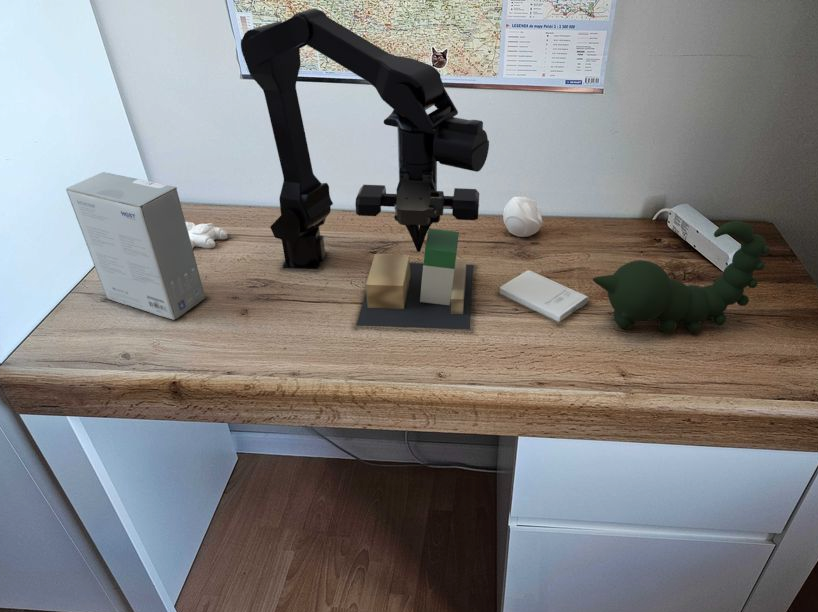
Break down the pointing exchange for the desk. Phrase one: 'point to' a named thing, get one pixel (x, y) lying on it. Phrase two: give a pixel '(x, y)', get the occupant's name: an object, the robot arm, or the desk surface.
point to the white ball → (522, 217)
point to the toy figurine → (684, 287)
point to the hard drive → (543, 295)
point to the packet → (439, 266)
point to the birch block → (388, 281)
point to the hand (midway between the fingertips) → (419, 250)
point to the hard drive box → (138, 243)
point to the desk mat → (420, 308)
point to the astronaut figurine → (204, 234)
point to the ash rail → (458, 288)
